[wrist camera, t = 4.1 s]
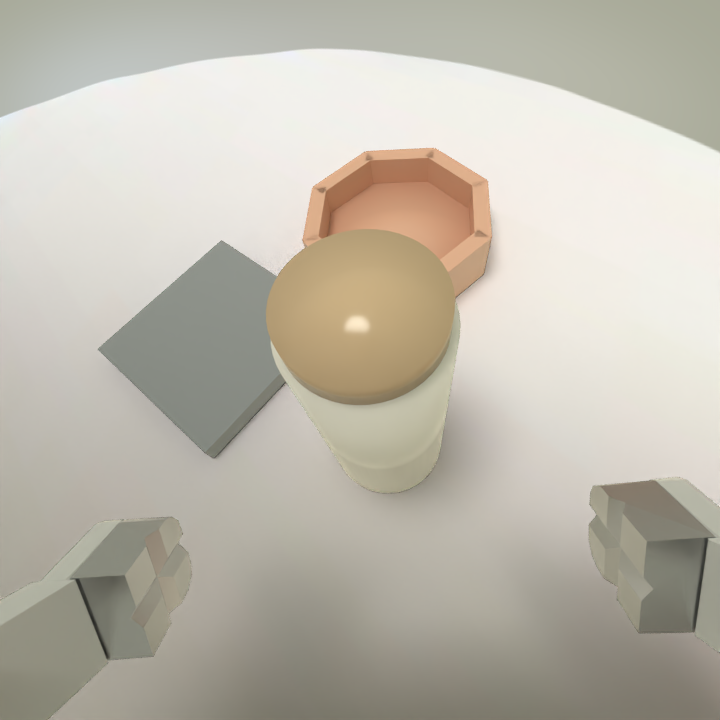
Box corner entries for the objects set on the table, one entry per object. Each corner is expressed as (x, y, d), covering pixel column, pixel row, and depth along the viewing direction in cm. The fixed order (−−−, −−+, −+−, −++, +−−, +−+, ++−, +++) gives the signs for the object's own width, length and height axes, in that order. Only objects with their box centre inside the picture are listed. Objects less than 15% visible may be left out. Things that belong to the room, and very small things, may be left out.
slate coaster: (109, 357, 24) (97, 349, 23) (228, 251, 26) (221, 240, 25) (213, 458, 20) (204, 452, 19) (338, 325, 23) (335, 315, 22)
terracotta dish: (286, 249, 26) (272, 213, 23) (402, 167, 28) (401, 127, 25) (392, 349, 22) (389, 319, 19) (518, 245, 24) (530, 206, 21)
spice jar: (315, 435, 20) (220, 300, 10) (391, 372, 21) (368, 195, 12) (383, 517, 18) (343, 443, 8) (463, 442, 19) (510, 300, 10)
